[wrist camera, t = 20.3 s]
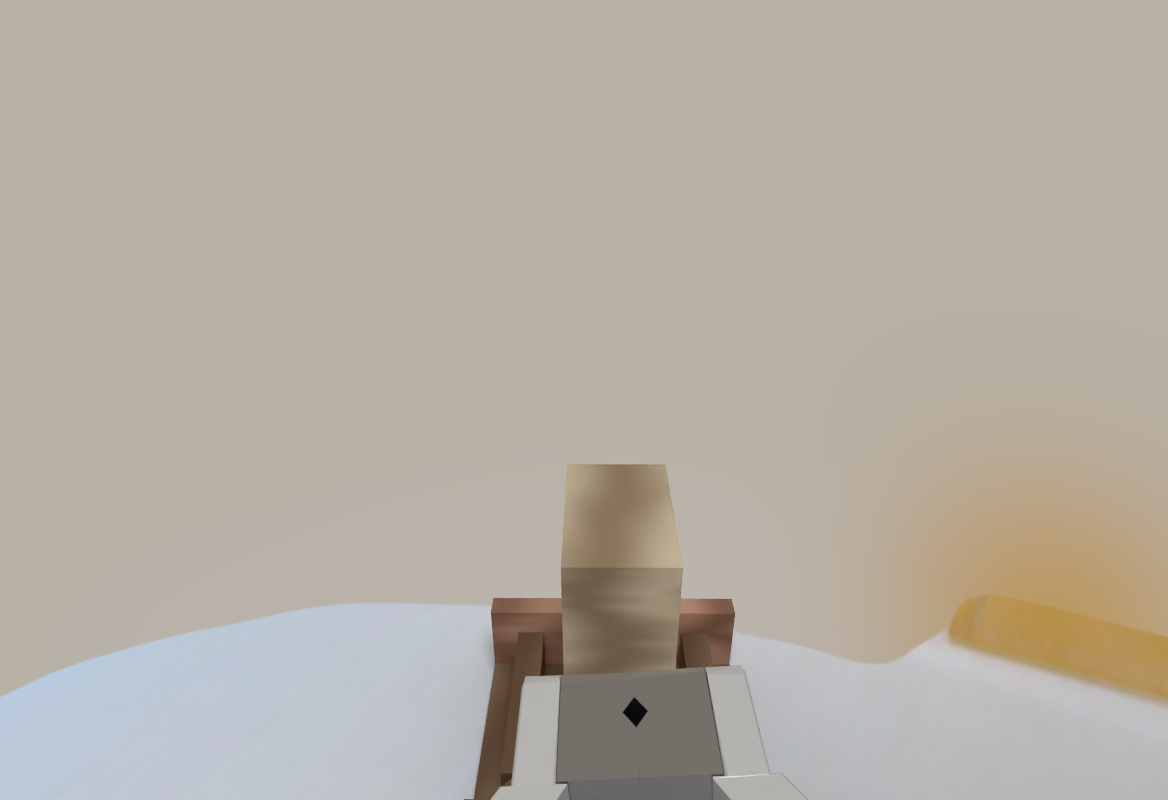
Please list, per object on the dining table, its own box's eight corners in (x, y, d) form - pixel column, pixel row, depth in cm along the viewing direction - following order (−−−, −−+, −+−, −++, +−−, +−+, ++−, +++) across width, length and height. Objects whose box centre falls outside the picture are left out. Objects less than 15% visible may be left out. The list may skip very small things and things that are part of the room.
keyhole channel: (724, 661, 44) (731, 599, 42) (821, 1119, 25) (843, 1051, 23) (498, 660, 44) (493, 598, 42) (429, 1114, 26) (413, 1045, 23)
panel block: (654, 664, 43) (665, 464, 36) (666, 789, 36) (682, 567, 29) (571, 663, 43) (567, 464, 36) (566, 788, 36) (560, 567, 29)
